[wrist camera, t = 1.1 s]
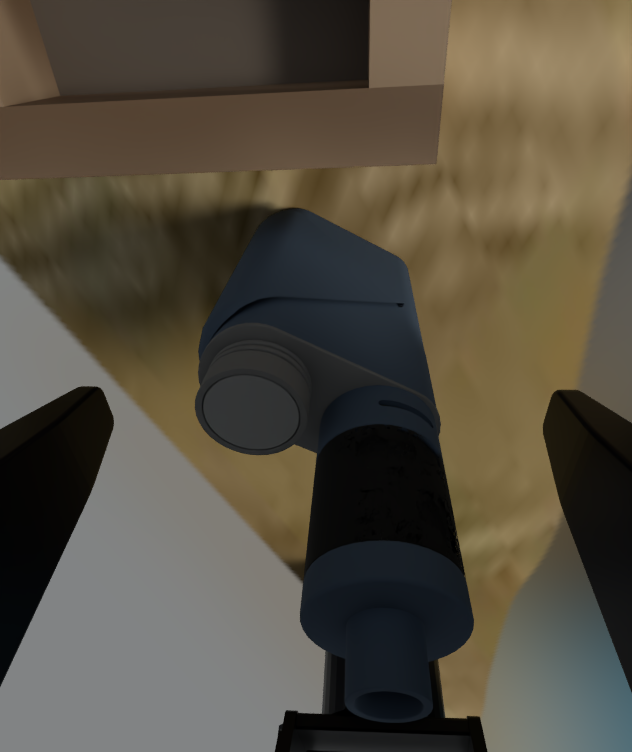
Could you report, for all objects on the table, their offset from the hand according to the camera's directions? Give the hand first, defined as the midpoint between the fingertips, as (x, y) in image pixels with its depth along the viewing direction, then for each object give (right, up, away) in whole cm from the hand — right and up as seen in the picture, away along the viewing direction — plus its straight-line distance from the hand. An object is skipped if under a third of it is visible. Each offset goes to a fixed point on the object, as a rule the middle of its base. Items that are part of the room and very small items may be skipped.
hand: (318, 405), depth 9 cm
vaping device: (+1, +4, +6) cm, 7 cm away
